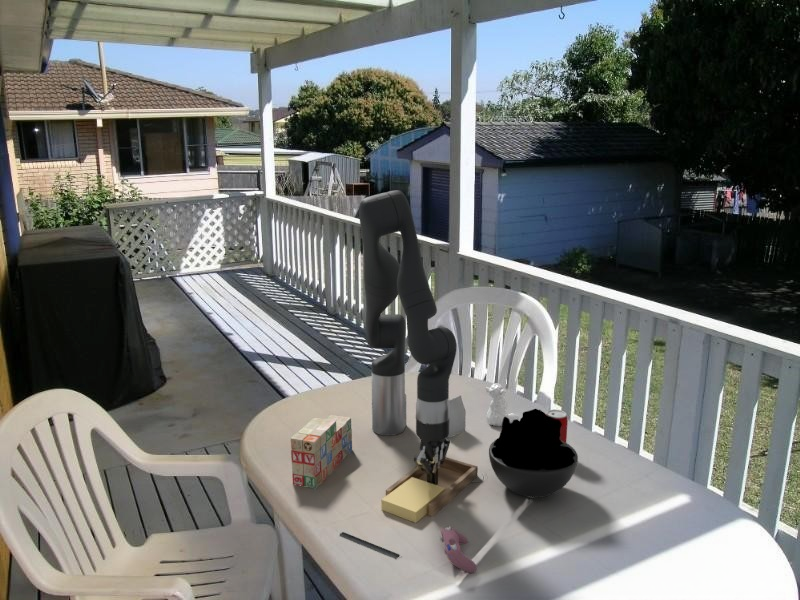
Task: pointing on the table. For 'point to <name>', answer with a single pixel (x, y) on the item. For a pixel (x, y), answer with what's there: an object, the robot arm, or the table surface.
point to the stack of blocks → (320, 449)
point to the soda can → (562, 418)
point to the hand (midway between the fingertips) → (432, 485)
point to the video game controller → (456, 549)
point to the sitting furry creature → (498, 406)
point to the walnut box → (443, 481)
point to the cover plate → (411, 499)
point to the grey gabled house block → (456, 416)
